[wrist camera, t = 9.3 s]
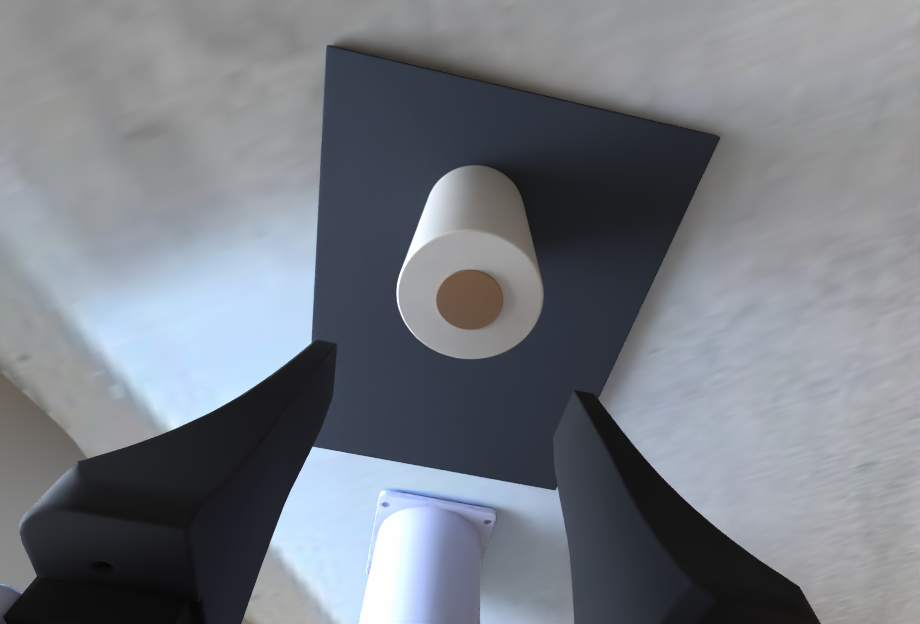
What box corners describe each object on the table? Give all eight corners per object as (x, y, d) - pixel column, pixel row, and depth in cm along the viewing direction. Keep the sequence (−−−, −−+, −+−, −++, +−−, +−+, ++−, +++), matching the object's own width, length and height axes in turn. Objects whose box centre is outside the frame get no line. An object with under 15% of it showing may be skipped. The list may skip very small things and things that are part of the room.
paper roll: (521, 373, 15) (564, 249, 13) (386, 346, 15) (407, 215, 13) (510, 268, 22) (536, 177, 20) (418, 249, 22) (435, 154, 20)
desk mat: (554, 485, 30) (555, 490, 30) (308, 440, 29) (306, 445, 29) (717, 135, 19) (721, 137, 19) (329, 44, 18) (326, 45, 18)
